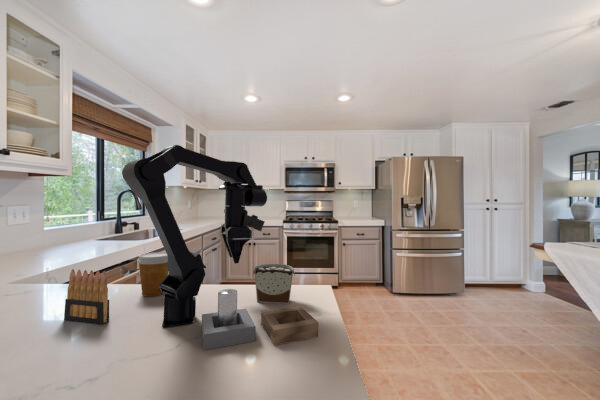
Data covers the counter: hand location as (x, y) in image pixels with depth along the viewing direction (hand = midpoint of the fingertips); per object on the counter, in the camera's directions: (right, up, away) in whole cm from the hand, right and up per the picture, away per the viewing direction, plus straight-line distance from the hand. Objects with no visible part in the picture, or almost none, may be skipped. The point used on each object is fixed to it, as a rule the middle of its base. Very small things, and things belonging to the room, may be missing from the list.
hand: (233, 260), depth 76 cm
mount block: (+17, -12, -17) cm, 27 cm away
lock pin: (+3, -12, -19) cm, 23 cm away
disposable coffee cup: (-27, -12, +6) cm, 30 cm away
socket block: (+3, -12, -19) cm, 23 cm away
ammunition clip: (-31, -11, -14) cm, 36 cm away
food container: (+12, -13, +2) cm, 17 cm away
